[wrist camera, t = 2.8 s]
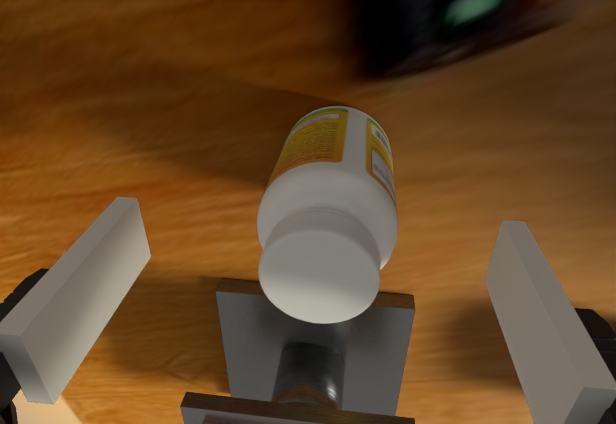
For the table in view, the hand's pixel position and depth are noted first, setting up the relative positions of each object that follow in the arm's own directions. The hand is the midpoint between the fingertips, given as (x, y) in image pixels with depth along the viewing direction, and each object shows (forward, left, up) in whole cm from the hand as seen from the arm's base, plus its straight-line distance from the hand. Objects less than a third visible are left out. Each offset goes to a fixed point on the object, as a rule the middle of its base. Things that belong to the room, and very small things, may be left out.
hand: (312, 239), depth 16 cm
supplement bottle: (0, 0, -8) cm, 8 cm away
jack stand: (+1, +15, -7) cm, 17 cm away
